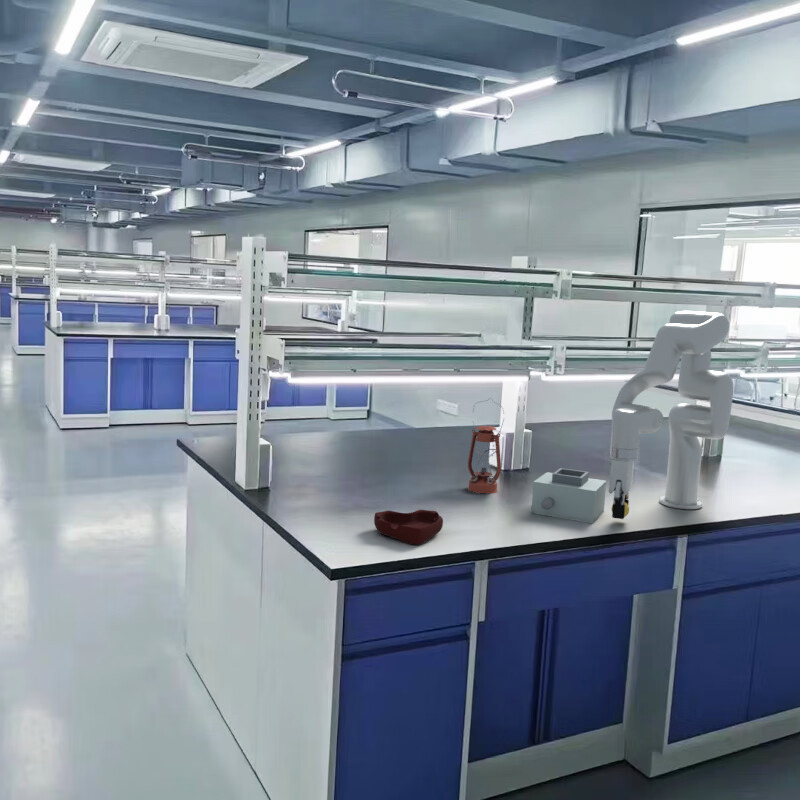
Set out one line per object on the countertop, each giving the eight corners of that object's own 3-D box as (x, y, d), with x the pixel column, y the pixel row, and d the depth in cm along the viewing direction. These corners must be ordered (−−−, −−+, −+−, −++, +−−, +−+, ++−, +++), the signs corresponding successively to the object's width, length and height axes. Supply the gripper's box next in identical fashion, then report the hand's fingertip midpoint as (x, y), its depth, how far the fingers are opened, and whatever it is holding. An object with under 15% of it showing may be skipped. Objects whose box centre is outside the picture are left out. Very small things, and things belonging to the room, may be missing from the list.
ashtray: (383, 549, 192) (383, 529, 192) (371, 528, 208) (371, 510, 207) (452, 546, 196) (453, 527, 196) (435, 526, 212) (436, 508, 211)
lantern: (495, 486, 256) (500, 396, 251) (500, 495, 246) (506, 401, 241) (466, 485, 256) (470, 395, 251) (469, 494, 245) (474, 400, 241)
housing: (544, 501, 240) (547, 464, 238) (603, 511, 232) (607, 472, 230) (528, 515, 225) (530, 475, 223) (590, 526, 217) (594, 484, 215)
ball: (613, 513, 224) (614, 497, 223) (630, 516, 222) (631, 500, 221) (609, 518, 220) (610, 501, 219) (626, 521, 218) (628, 504, 217)
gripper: (616, 445, 227) (612, 505, 230) (603, 457, 212) (600, 521, 215) (643, 448, 223) (638, 509, 226) (632, 460, 208) (627, 526, 211)
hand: (620, 514), depth 221 cm, fingers closed on ball, 4 cm apart
